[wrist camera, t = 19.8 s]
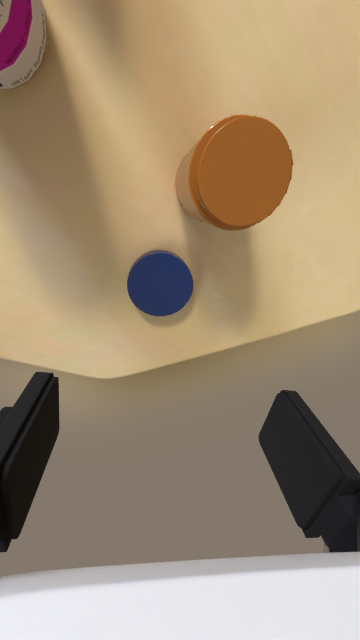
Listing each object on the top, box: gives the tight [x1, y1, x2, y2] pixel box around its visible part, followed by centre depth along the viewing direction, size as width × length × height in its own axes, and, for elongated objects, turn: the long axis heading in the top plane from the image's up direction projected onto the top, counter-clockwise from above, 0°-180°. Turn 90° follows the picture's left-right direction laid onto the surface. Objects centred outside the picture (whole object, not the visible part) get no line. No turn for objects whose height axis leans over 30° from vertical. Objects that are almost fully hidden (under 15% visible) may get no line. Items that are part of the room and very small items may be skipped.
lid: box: [127, 250, 193, 316], centre depth 26 cm, size 7×7×2 cm
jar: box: [175, 115, 293, 230], centre depth 19 cm, size 6×6×10 cm
